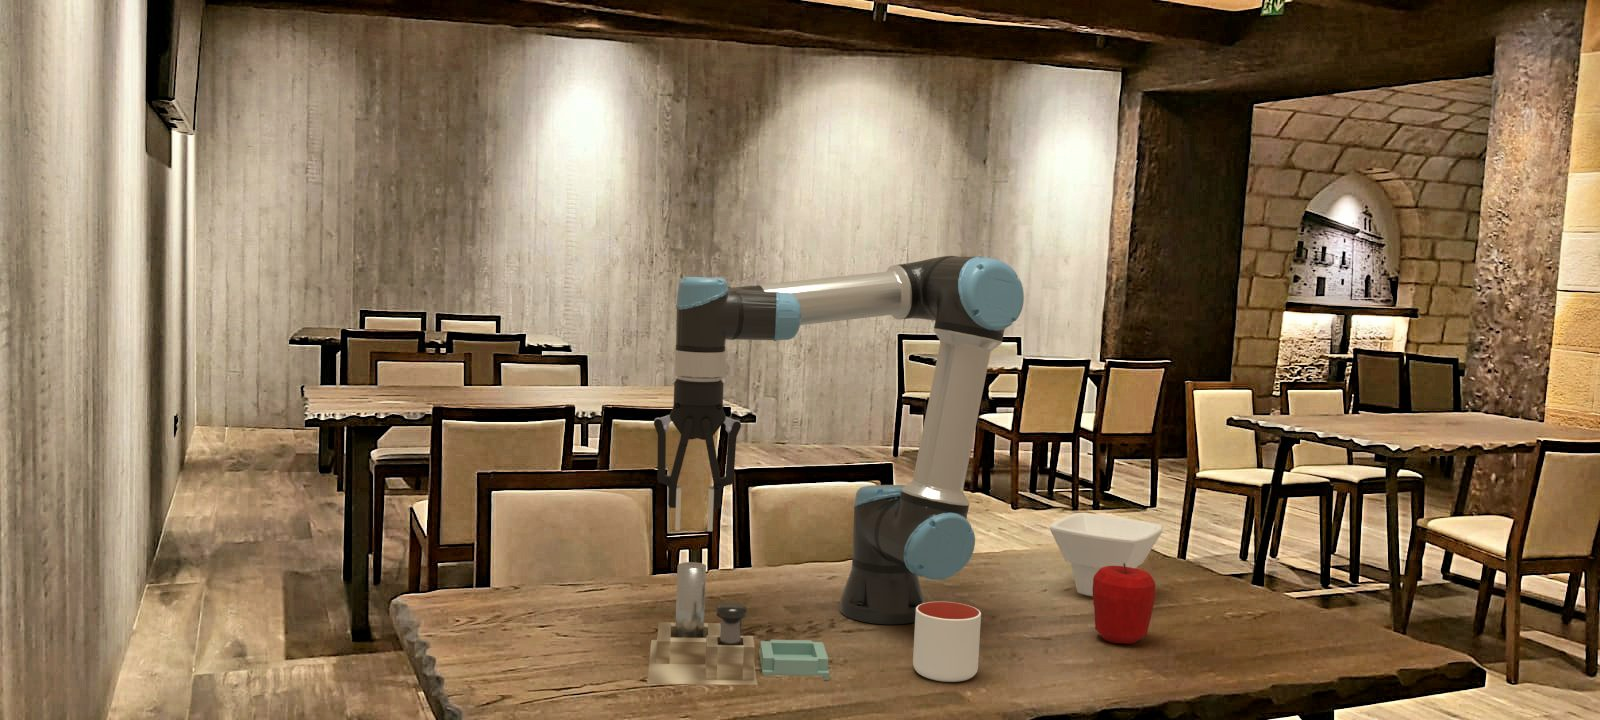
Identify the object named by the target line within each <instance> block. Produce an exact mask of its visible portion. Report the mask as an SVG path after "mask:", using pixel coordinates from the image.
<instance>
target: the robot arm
mask: <svg viewBox="0 0 1600 720" xmlns="http://www.w3.org/2000/svg"><path fill="white" fill-rule="evenodd" d="M1024 299H1025V294H1024V288H1023V283H1022V281H1021V280H1020V277H1019V276H1018V274H1017V272H1016V271H1015V269H1014V268H1012V266H1010V265H1009V264H1008V263H1006V262H1004V261H1002V260H999V259H997V258H996V259H995V258H991V257H987V256H957V255H943V256H938V257H933V258H932V257H931V258H929V259H928V258H927V259H924V260H919V261H913V262H909V263H908V262H907V263H900V264H893V265H890V267H888V268H887V269H886V271H880V272H870V273H860V274H851V275H850V274H849V275H843V276H842V275H841V276H832V277H822V278H812V279H803V280H793V281H782V282H774V283H772V282H771V283H764V284H757V285H746V286H744V285H743V286H734V287H731V286H728V282H727V280H726V278H722V277H707V276H706V277H702V276H686V277H683V278H682V279H681V280H680V281H679V284H678V290H677V296H676V305H675V309H676V319H675V320H676V323H675V324H676V327H675V329H676V331H675V332H676V335H675V336H676V337H675V349H674V350H675V351H674V375H675V376H677V378H675V380H674V382H673V383H674V384H673V407H672V409H671V410H670V412H669V414H667V415H665V416H661V417H655V418H654V420H653V425H654V428H655V431H656V434H657V464H656V465H657V469H656V470H657V472H656V473H657V475H656V476H657V482H658V483H659V484H663V485H666V486H667V488H668V503H667V504H668V507H669V509H675V524H674V531H678V532H679V531H681V512H682V511H681V509H682V485H680V484H679V485H678V482H679V478H680V474H681V470H682V466H683V462H684V459H685V456H686V450H687V447H688V444H689V441H690V440H696V439H699V440H700V441H701V440H702V441H705V444H706V450H707V457H708V460H709V466H710V471H711V472H710V473H711V478H712V482H713V483H712V484H713V485H708V499H707V501H708V502H707V503H708V504H707V527H706V529H707V532H713V530H714V528H713V527H714V526H713V524H714V510H719V509H720V508H721V506H722V490H723V488H725V487H726V486H731V485H733V484H734V482H735V481H734V480H735V466H736V465H735V464H736V450H737V447H736V446H737V436H738V435H739V433H740V430H741V428H742V424H741V421H740V420H739V419H734V418H732V417H729V416H726V413H725V410H724V406H723V405H724V384H725V383H724V382H723V380H721V378H723V377H724V375H725V356H726V355H725V354H726V353H725V352H726V341H727V340H730V341H735V340H746V341H773V342H777V341H789V340H792V339H793V338H795V337H796V336H797V335H798V332H799V330H800V327H801V326H806V325H812V324H813V325H814V324H823V323H824V324H825V323H829V322H840V321H850V320H858V319H867V318H875V317H876V318H877V317H886V316H891V317H892V318H894V320H898V321H899V320H900V321H901V320H908V319H914V320H916V319H917V320H918V319H919V320H921V319H922V320H927V321H934V326H933V331H934V334H935V335H936V337H937V338H938V339H939V348H938V353H937V358H936V362H935V367H934V372H933V378H932V382H931V387H930V391H929V398H928V403H927V406H926V413H925V418H924V422H923V427H922V432H921V437H920V442H919V447H918V451H917V458H916V461H915V467H914V472H913V476H912V480H911V481H910V482H909V483H908V484H879V485H877V484H876V485H865V486H862V487H860V488H858V490H856V493H855V499H854V503H853V510H854V512H853V514H854V515H853V532H852V533H853V534H852V535H853V536H852V537H853V538H852V556H851V557H852V559H851V560H852V561H851V569H850V572H849V575H848V578H847V581H846V583H845V585H844V589H843V591H842V593H841V597H840V601H839V602H840V605H839V607H840V608H839V611H840V612H841V614H842V615H843V616H845V617H847V618H849V619H852V620H855V621H859V622H863V623H869V624H876V625H905V624H910V623H911V624H912V623H915V614H916V607H917V606H918V605H920V604H923V603H926V602H925V601H926V600H925V598H924V595H923V590H922V586H921V582H920V580H919V577H923V578H926V579H929V580H935V581H938V580H939V581H940V580H945V579H949V578H952V577H953V576H955V575H956V574H957V573H959V572H960V571H962V570H963V569H965V567H966V565H967V564H968V563H969V561H970V560H971V558H972V555H973V554H974V550H975V547H976V546H975V545H976V535H975V531H974V529H973V528H972V524H971V523H970V521H969V520H967V519H968V514H969V507H970V501H969V499H968V498H967V496H966V495H965V492H964V486H965V482H966V478H967V472H968V467H969V462H970V458H971V454H972V453H971V451H972V448H973V442H974V436H975V433H976V432H975V431H976V426H977V423H978V418H979V412H980V407H981V401H982V397H983V394H984V393H983V392H984V387H985V381H986V377H987V372H988V367H989V362H990V357H991V353H992V351H994V349H996V348H998V346H1001V345H1002V343H1003V338H1004V334H1005V333H1004V332H1005V329H1007V328H1009V327H1011V326H1012V325H1013V323H1014V322H1015V321H1017V320H1018V318H1019V317H1020V315H1021V313H1022V310H1023V306H1024V301H1025V300H1024ZM670 423H673V425H674V427H675V428H676V429H677V431H678V432H679V434H680V437H679V442H678V445H677V449H676V453H675V457H674V460H673V465H672V469H671V472H670V475H668V474H667V473H666V469H667V468H666V467H667V465H666V460H667V456H666V453H667V451H666V450H667V433H666V432H667V431H668V430H669V429H670ZM723 424H724V425H725V431H726V432H727V443H726V445H727V446H726V460H725V476H721V474H720V473H721V471H720V468H719V461H718V456H717V451H716V446H715V445H716V444H715V440H714V435H715V434H716V433H717V431H718V430H719V429H720V428H721V426H722V425H723Z"/></svg>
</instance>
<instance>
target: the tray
mask: <svg viewBox="0 0 1600 720" xmlns="http://www.w3.org/2000/svg"><path fill="white" fill-rule="evenodd" d="M758 656H759V657H758V658H759V662H760V668H761V674H762V675H764V676H768V675H769V676H771V675H772V676H822V678H823V681H829V680H830V670H829V657H828V654H827V650H826V648H825V645H824V642H823V641H813V640H810V639H809V640H808V639H770V640H766V641H765V640H760V646H759V650H758Z"/></svg>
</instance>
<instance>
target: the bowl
mask: <svg viewBox="0 0 1600 720" xmlns="http://www.w3.org/2000/svg"><path fill="white" fill-rule="evenodd" d="M1163 528H1164V526H1163V525H1162V524H1159V523H1155V522H1154V523H1153V522H1149V521H1144V520H1138V519H1131V518H1128V517H1122V516H1121V517H1120V516H1114V515H1105V514H1098V513H1090V512H1089V513H1088V512H1077V513H1072V514H1068V515H1067V516H1064V517H1061V518H1058V519H1056V520H1055V521H1053V522H1052V523H1051V524H1050V526H1049V530H1050V532H1051V535H1052V537H1053V539H1054V541H1055V543H1056V545H1057V546H1058V549H1059V551H1060V553H1061V556H1063V558H1064V562H1066V563H1067V562H1068V563H1070V565H1071V569H1072V570H1071V571H1072V574H1073V578H1074V584H1075V588H1076V592H1077V593H1078V594H1081V595H1085V596H1089V597H1093V592H1092V589H1093V577H1094V575H1095V574H1096V573H1097V572H1098V570H1099V569H1100V568H1102V567H1106V566H1124V565H1123V564H1124V563H1125V566H1126V567H1130V568H1136V569H1137V568H1138V567H1139V566H1140V565H1142V564H1144V562H1145V560H1146V559H1147V557H1148V555H1149V554H1150V552H1151V550H1152V549H1153V548H1154V546H1155V544H1156V543H1157V541H1158V540H1159V538H1160V536H1161V534H1162V533H1163V530H1164V529H1163Z"/></svg>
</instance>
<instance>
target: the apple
mask: <svg viewBox="0 0 1600 720" xmlns="http://www.w3.org/2000/svg"><path fill="white" fill-rule="evenodd" d="M1123 565H1124V566H1106V567H1102V568H1100V569H1099V570H1098V572H1097V573H1096V574H1095V575H1094V577H1093V589H1092V592H1093V596H1092V601H1093V613H1094V627H1095V628H1094V629H1095V631H1096V632H1098V634H1099V635H1100V636H1101V637H1102V638H1103V639H1104V640H1105V641H1106V642H1109V643H1114V644H1115V643H1116V644H1135V643H1137V642H1138V641H1140V640H1141V639H1143V638H1144V637H1145V636H1147V635H1148V631H1149V627H1150V623H1151V618H1152V614H1153V609H1154V605H1155V601H1156V600H1155V599H1156V581H1155V580H1154V578H1153V577H1152V575H1151V574H1150V573H1149V572H1148V571H1147V570H1143V569H1140V568H1137V567H1136V568H1130V567H1126V566H1125V563H1124V564H1123Z"/></svg>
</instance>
